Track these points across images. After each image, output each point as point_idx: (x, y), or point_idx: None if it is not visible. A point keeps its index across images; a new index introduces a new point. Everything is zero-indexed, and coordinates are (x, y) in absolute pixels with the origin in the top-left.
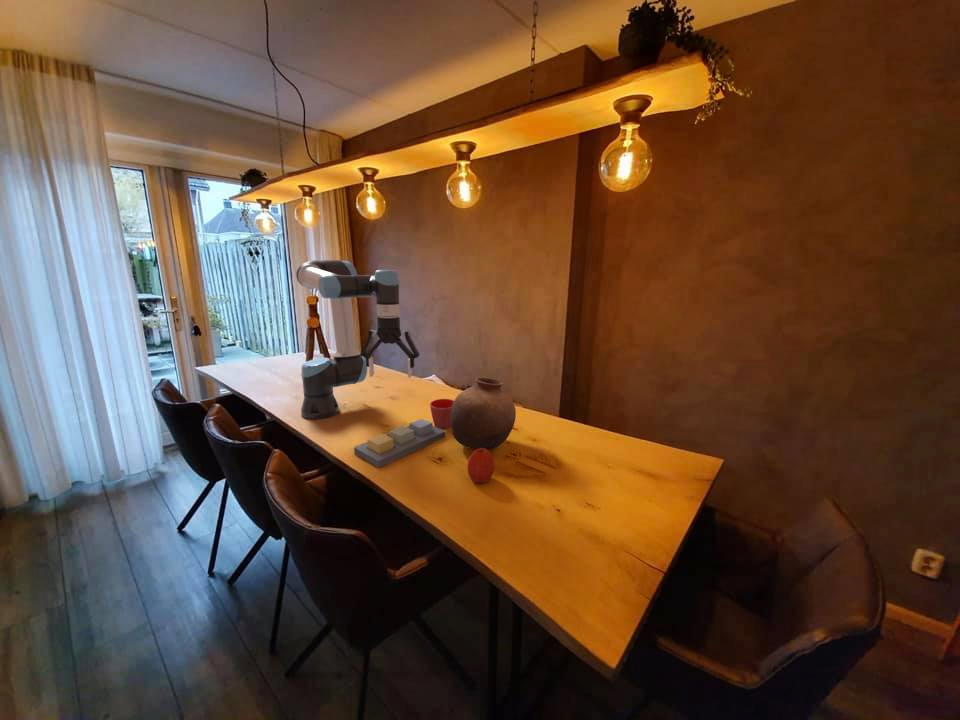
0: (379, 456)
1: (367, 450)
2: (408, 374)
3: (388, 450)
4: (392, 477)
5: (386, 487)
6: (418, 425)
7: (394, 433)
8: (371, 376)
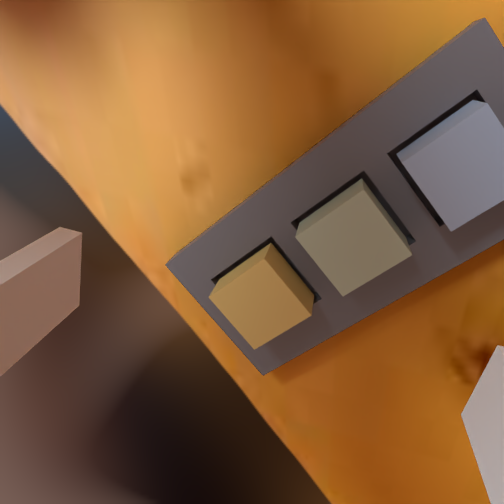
0: (264, 350)
1: None
2: (475, 446)
3: None
4: (309, 415)
5: (293, 450)
6: (447, 199)
7: (317, 263)
8: (74, 305)
